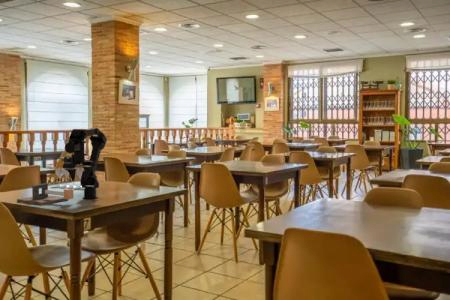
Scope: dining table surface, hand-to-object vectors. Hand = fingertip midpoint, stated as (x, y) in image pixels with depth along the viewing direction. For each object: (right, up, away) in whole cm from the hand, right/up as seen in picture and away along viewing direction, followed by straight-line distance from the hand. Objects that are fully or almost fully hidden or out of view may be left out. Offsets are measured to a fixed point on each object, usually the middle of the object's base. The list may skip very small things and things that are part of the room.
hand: (79, 180), depth 263 cm
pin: (-11, -9, -3) cm, 14 cm away
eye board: (-20, -12, +3) cm, 24 cm away
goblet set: (-23, -8, +61) cm, 66 cm away
